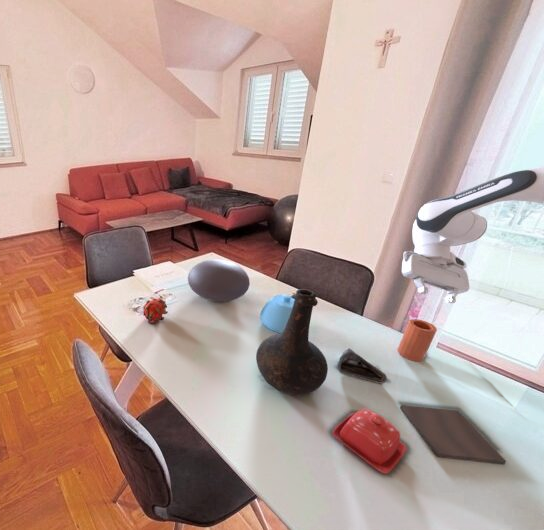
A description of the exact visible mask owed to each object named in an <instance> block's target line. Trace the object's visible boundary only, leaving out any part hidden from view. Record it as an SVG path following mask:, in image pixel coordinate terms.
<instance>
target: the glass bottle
mask: <svg viewBox="0 0 544 530" xmlns="http://www.w3.org/2000/svg"><path fill="white" fill-rule="evenodd" d="M290 296H291V297H292V298H293V299H295V301H294V304H293V307H292V310H291V314H290V316H289V319H288V322H287V324H286V326H285V329H284V331H283V332H282V333H277V334H273V335H270V336H268V337H267V338H265V339H264V340H263V341H262V342H261V343H260V344H259V345H258V347H257V350H256V354H255V355H256V356H255V360H256V365H257V368H258V371H259V373H260V376H261V377H262V378H263V379H264V381H265V382H266V383H267V384H268V385H269V386H270V387H272V388H274V389H275V390H277V391H279V392H281V393H284V394H287V395H291V396H302V395H303V396H304V395H308V394H311V393H313V392H315V391H317V390H318V389H320V388H321V386H322V385H323V384H324V383H325V381H326V379H327V377H328V371H329V367H328V362H327V359H326V357H325V355H324V353H323V352H322V351H321V350H320V348H319V347H317V345H316V344H314V343H312V342H311V341H310V340H309V336H310V335H309V334H310V325H311V319H312V314H313V309H314V307H317V306H318V303H319V301H318V299H317V296H318V295H317V293H316V292H314V291H312V290H309V289H306V288H300V289H297V290H296V292H295V293H294V294H292V295H290Z"/></svg>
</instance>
